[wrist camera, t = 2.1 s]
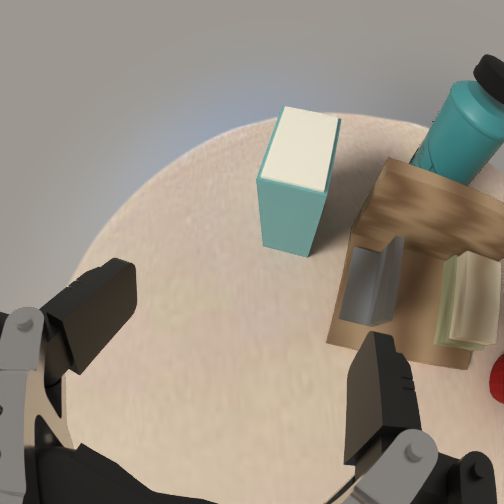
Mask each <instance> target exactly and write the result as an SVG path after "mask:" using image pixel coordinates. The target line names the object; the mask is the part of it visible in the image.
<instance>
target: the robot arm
mask: <svg viewBox="0 0 504 504" xmlns="http://www.w3.org/2000/svg"><path fill="white" fill-rule="evenodd" d="M136 306H137V286H136V268H135V265H134V264H133V263H130V262H127V261H124V260H121V259H118V258H112V259H111V260H109V261H108V262H107V263H105V264H104V265H103V266H102V267H97V268H95V269H92V270H90V271H87V272H85V273H84V274H83V275H81V276H80V277H79V278H77V279H76V281H74V282H72V283H71V284H70V285H69V287H66V288H65V289H63V290H62V291H61V292H60V293H58V294H57V295H56V296H55V297H54V298H52V299H51V300H50V301H49V302H48V303H46V304H45V305H44V306H43V307H41V308H40V309H37V308H34V307H23V308H20V309H17V310H15V311H14V312H12V313H11V314H6V313H2V312H0V504H217V503H214V502H210V501H207V500H204V499H198V498H189V497H182V496H175V495H169V494H163V493H158V492H154V491H152V490H150V489H149V488H147V487H146V486H145V485H143V484H142V483H141V482H139V481H138V480H137V479H135V478H134V477H133V476H132V475H130V474H129V473H128V472H127V471H125V470H124V469H123V468H122V467H121V466H119V465H118V464H117V463H116V462H114V461H112V460H110V459H108V458H106V457H105V456H103V455H101V454H99V453H97V452H96V451H94V450H92V449H91V448H89V447H87V446H86V445H84V444H82V443H81V444H80V445H79V447H78V448H77V450H75V449H74V447H73V443H72V439H71V436H70V433H69V430H68V426H67V414H66V377H65V372H66V371H67V370H68V369H70V370H72V371H73V372H75V373H77V374H78V375H81V374H82V372H83V371H84V370H85V369H86V368H87V367H88V365H89V364H90V363H91V362H92V361H93V360H94V358H95V357H96V356H97V355H98V354H99V353H100V351H101V350H102V349H103V348H104V347H105V346H106V345H107V343H108V342H109V341H110V340H111V339H112V338H113V337H114V335H115V334H116V333H117V332H118V331H119V330H120V329H121V328H122V326H123V325H124V324H125V323H126V322H127V321H128V320H129V319H130V317H131V316H132V315H133V313H134V311H135V309H136ZM412 379H413V376H412V372H411V367H410V364H409V363H408V361H407V360H406V358H405V357H404V355H403V354H402V353H398V352H396V348H395V343H394V338H393V336H392V335H389V334H384V333H379V332H375V331H369V333H368V334H367V336H366V337H365V339H364V341H363V343H362V345H361V347H360V349H359V351H358V353H357V354H356V356H355V358H354V360H353V362H352V364H351V366H350V369H349V372H348V377H347V410H346V434H345V451H344V465H353V466H355V474H354V475H353V476H352V477H351V478H350V479H349V480H348V481H347V482H346V483H345V484H344V485H343V486H342V487H341V488H340V489H339V490H338V491H336V492H335V493H334V494H333V495H332V496H331V497H330V498H329V499H328V500H327V501H326V502H324V503H323V504H497V495H496V485H495V476H494V469H493V465H492V463H491V461H490V459H489V458H488V457H487V456H486V455H485V454H483V453H481V452H478V451H472V452H469V453H468V454H466V455H465V456H464V457H463V458H461V459H456V458H453V457H451V456H448V455H445V454H442V453H439V452H438V449H437V446H436V444H435V442H434V440H433V439H432V438H431V437H430V436H429V435H428V434H427V433H425V432H423V431H422V428H421V421H420V415H419V409H418V403H417V397H416V392H415V391H414V390H415V386H414V381H412Z"/></svg>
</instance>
